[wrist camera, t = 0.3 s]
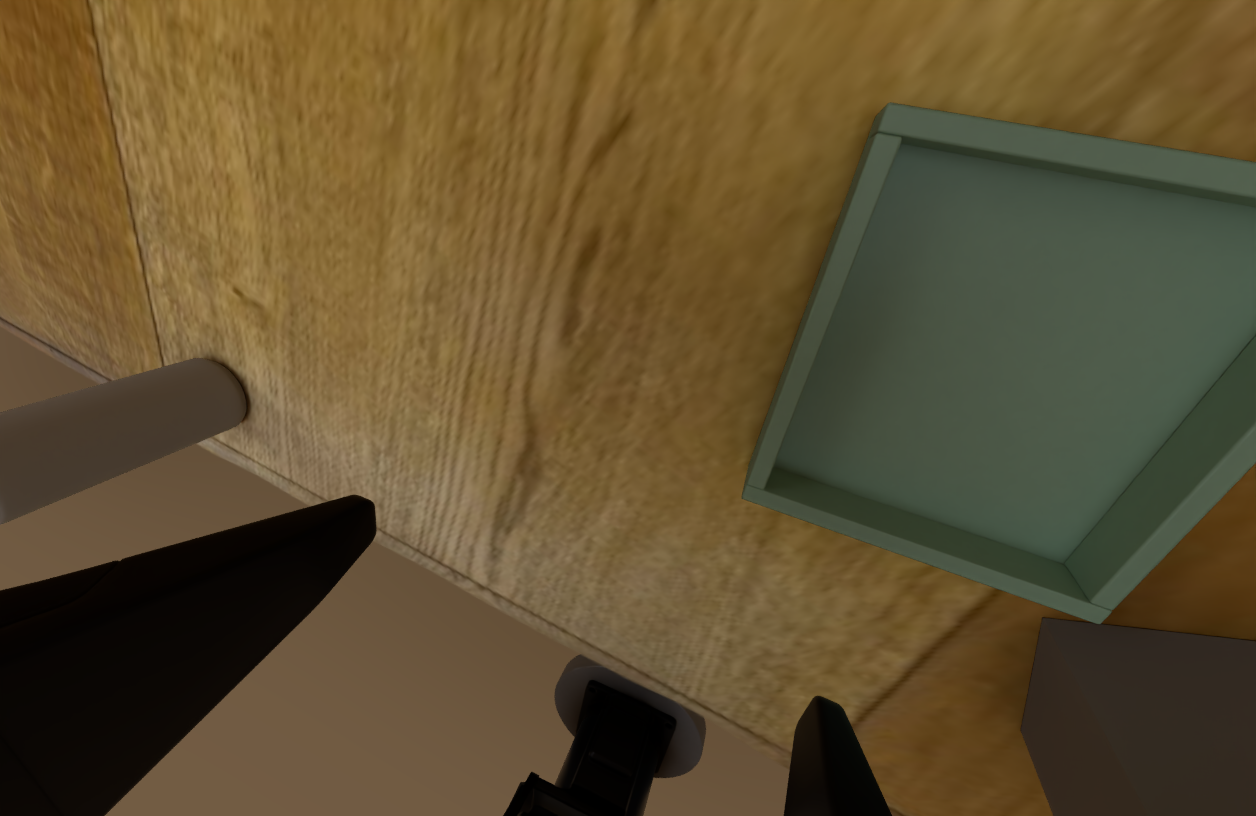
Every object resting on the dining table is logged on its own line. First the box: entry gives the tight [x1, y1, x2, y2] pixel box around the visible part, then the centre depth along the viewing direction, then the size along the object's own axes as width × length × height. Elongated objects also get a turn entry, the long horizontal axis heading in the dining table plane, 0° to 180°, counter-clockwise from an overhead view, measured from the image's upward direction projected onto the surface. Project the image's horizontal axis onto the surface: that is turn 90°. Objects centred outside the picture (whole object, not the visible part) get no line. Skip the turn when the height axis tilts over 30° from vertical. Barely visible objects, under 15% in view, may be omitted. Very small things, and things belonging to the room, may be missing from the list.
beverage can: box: [0, 358, 247, 524], centre depth 26 cm, size 5×5×12 cm
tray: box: [742, 103, 1256, 624], centre depth 16 cm, size 13×12×3 cm
